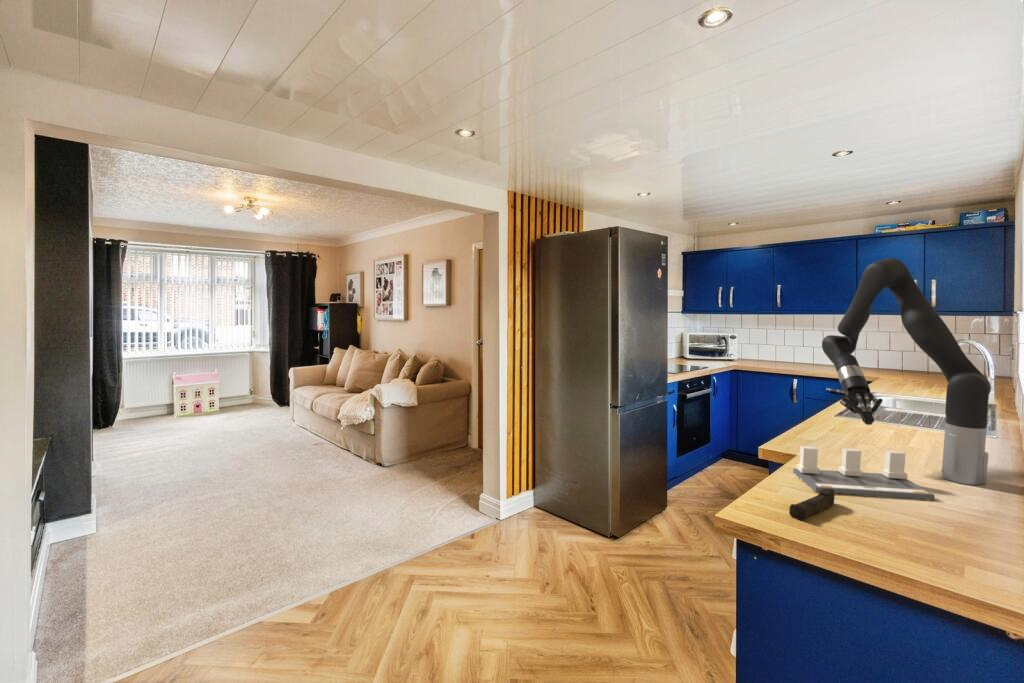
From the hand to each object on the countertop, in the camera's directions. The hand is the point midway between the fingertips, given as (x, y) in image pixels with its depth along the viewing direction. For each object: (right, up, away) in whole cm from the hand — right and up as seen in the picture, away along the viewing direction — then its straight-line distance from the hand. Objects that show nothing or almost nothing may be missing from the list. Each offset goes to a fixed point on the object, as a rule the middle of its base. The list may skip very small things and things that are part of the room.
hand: (869, 423), depth 159 cm
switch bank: (-15, -16, -16) cm, 27 cm away
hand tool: (-39, -18, -33) cm, 54 cm away
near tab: (-3, -14, -13) cm, 19 cm away
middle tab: (-14, -14, -11) cm, 23 cm away
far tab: (-26, -13, -9) cm, 31 cm away
